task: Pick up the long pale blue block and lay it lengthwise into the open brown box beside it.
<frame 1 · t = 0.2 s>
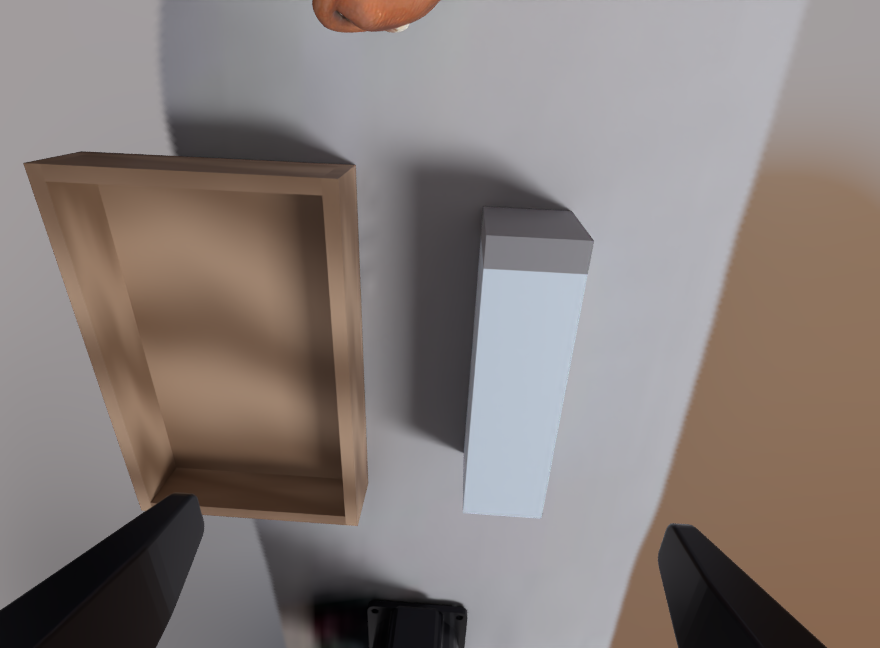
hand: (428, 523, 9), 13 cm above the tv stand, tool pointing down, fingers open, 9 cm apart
long pale blue block: (509, 359, 23), on the tv stand
open brown box: (247, 343, 24), on the tv stand
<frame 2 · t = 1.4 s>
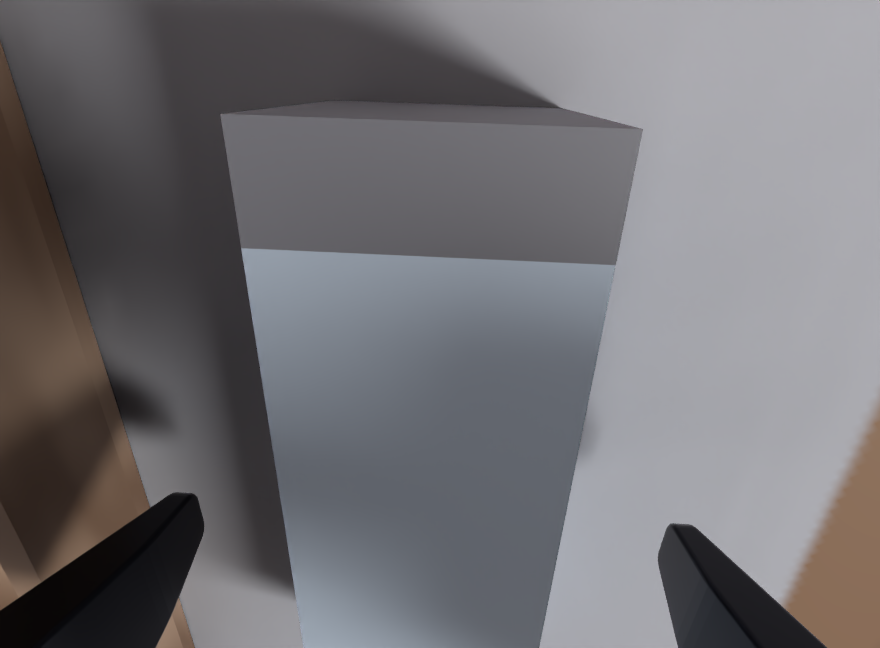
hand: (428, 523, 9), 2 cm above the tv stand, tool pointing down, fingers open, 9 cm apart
long pale blue block: (435, 456, 11), on the tv stand
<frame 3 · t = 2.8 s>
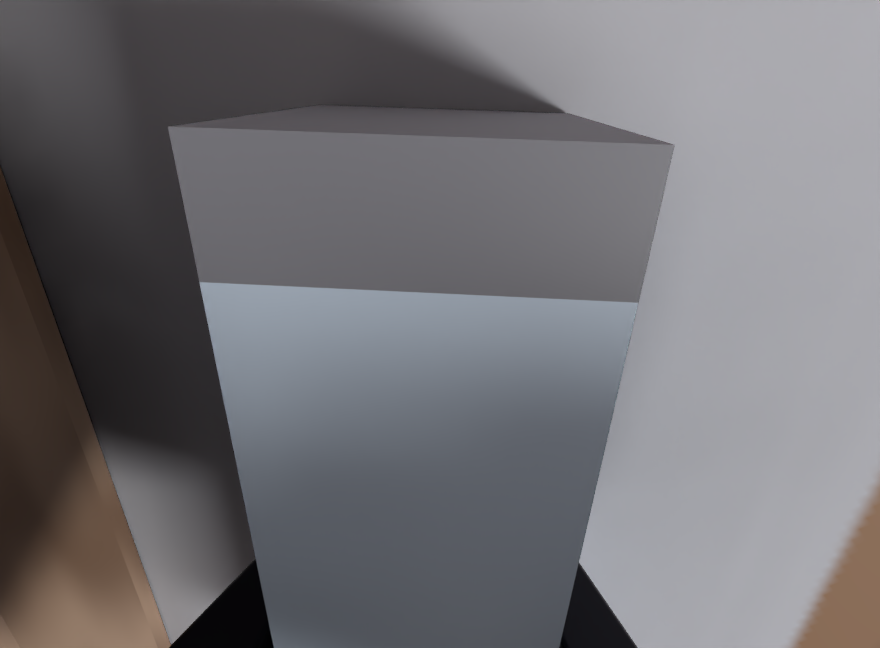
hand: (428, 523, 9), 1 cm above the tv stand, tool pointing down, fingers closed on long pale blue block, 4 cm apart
long pale blue block: (431, 483, 10), on the tv stand, touching gripper
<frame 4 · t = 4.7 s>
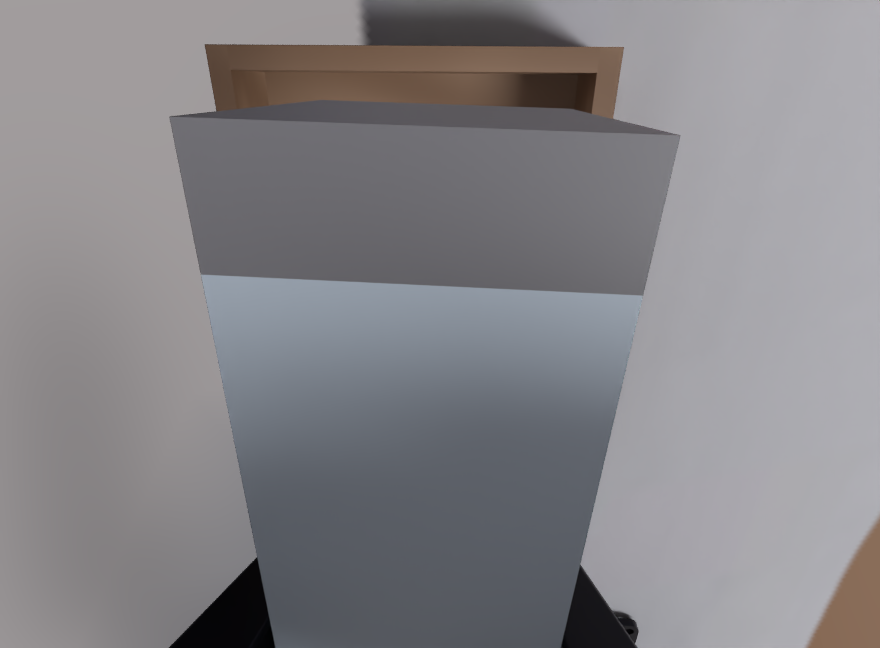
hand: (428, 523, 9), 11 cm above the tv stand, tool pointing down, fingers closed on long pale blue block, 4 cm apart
long pale blue block: (432, 480, 10), point 10 cm above the tv stand, touching gripper
open brown box: (422, 299, 19), on the tv stand
when the fingers open (3 cm above the tv stand, at t = 7.0 s): long pale blue block drops 1 cm, resting on open brown box.
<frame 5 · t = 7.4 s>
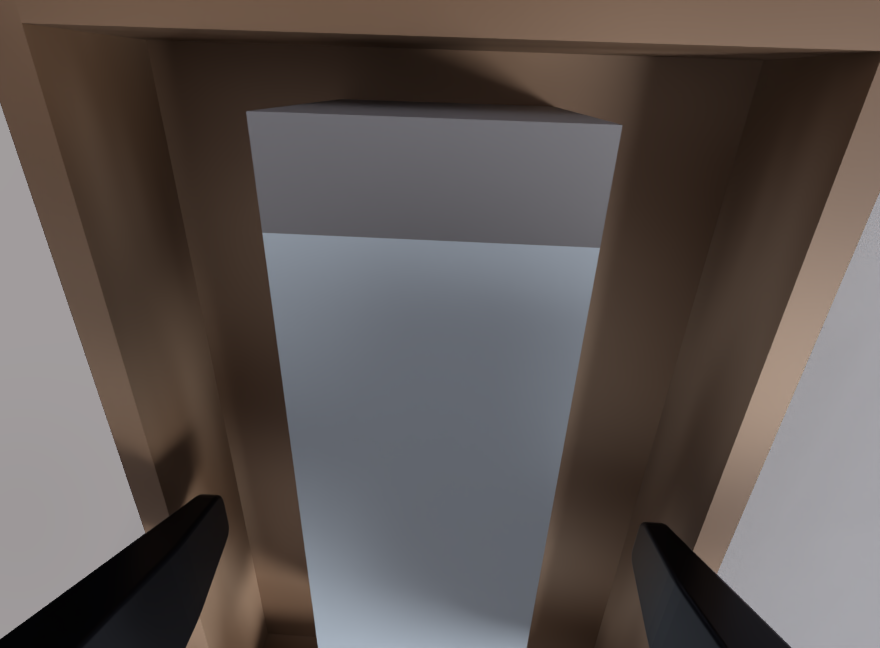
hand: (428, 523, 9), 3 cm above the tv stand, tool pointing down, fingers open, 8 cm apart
long pale blue block: (435, 439, 11), resting on open brown box
open brown box: (436, 429, 12), on the tv stand
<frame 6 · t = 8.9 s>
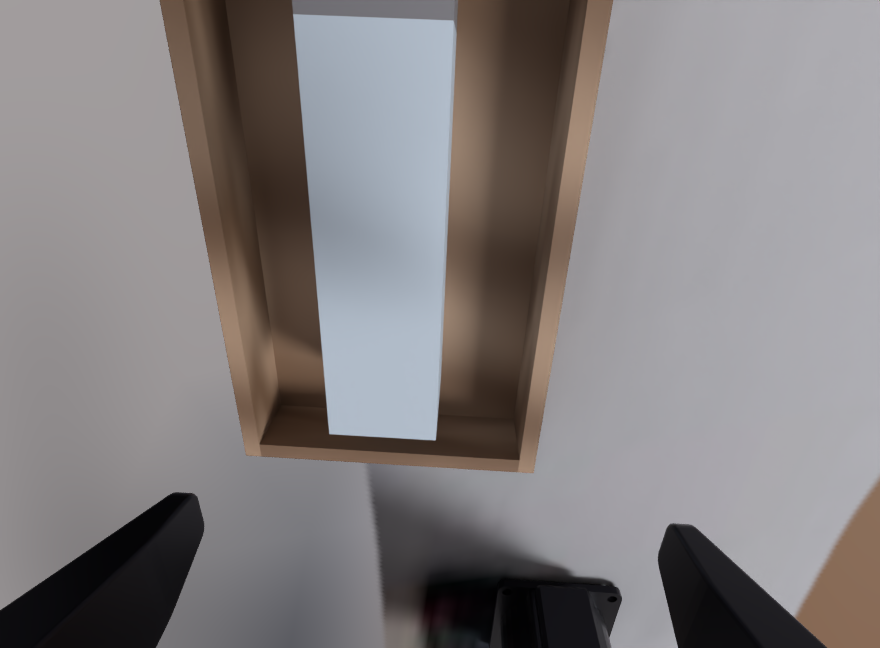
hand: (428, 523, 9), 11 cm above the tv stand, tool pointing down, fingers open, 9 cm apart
long pale blue block: (396, 229, 17), resting on open brown box
open brown box: (397, 226, 18), on the tv stand
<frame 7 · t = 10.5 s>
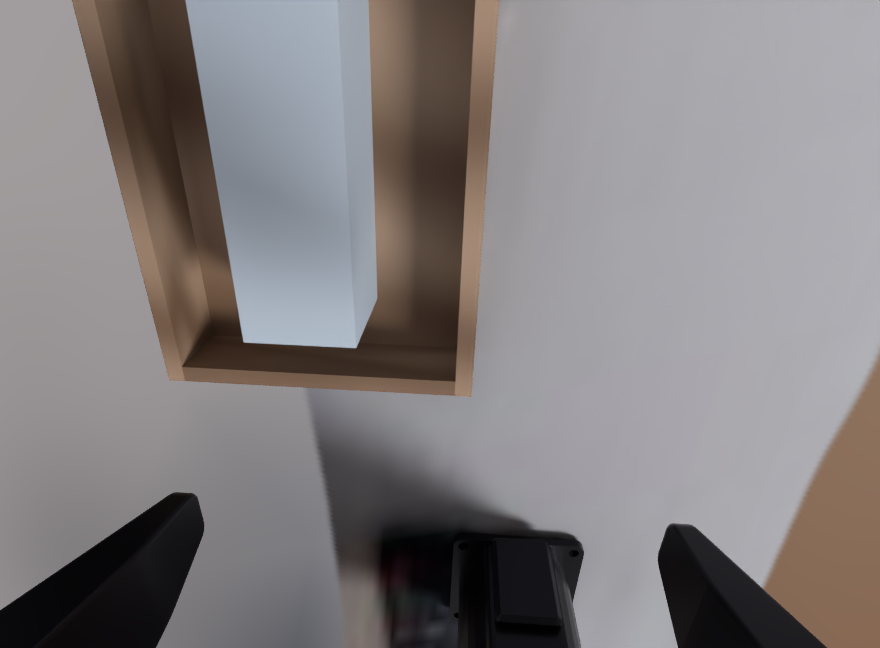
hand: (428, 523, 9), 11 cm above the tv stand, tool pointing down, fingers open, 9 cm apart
long pale blue block: (319, 130, 16), resting on open brown box
open brown box: (321, 130, 17), on the tv stand
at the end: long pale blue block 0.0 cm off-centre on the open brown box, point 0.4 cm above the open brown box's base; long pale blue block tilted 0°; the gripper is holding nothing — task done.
